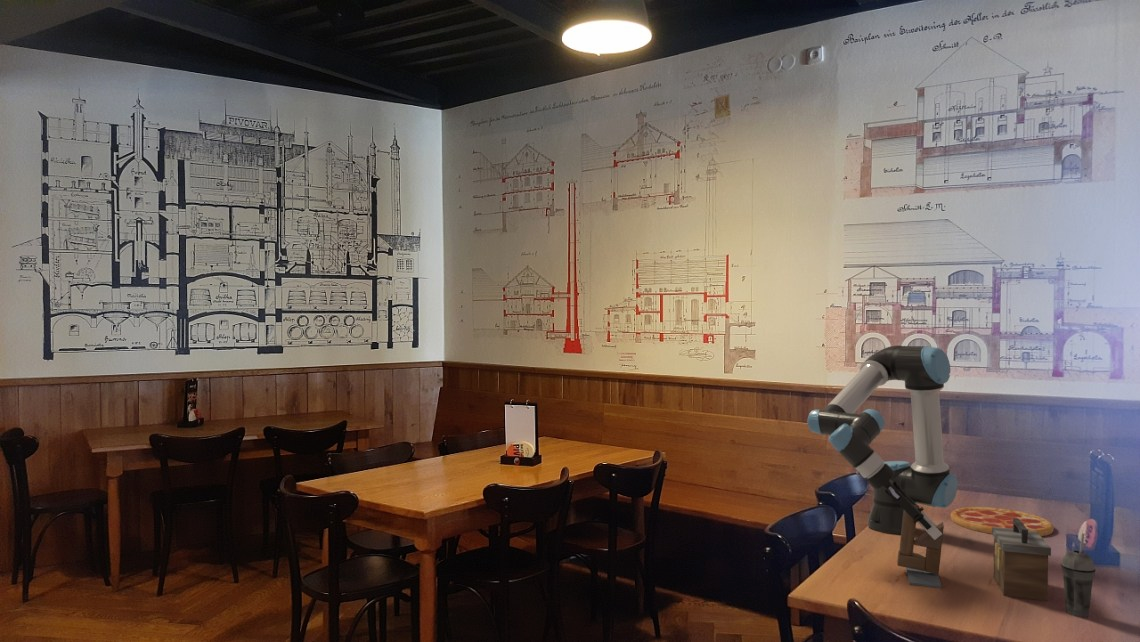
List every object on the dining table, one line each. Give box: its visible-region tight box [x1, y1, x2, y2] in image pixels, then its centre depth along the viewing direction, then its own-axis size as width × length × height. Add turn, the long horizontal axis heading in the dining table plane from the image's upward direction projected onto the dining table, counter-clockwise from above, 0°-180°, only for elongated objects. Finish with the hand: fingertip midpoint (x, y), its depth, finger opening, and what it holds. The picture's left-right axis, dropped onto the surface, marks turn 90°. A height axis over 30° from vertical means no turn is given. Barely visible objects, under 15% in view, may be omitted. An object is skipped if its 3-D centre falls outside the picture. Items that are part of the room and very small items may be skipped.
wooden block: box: [896, 504, 945, 575], centre depth 218 cm, size 4×11×18 cm, turn 67°
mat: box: [905, 567, 943, 589], centre depth 217 cm, size 16×8×1 cm, turn 160°
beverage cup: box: [1060, 533, 1096, 618], centre depth 191 cm, size 7×7×20 cm
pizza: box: [950, 506, 1055, 538], centre depth 273 cm, size 32×32×3 cm
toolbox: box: [991, 518, 1052, 602], centre depth 209 cm, size 17×11×18 cm, turn 160°
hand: (937, 534), depth 216 cm, fingers open, 4 cm apart
